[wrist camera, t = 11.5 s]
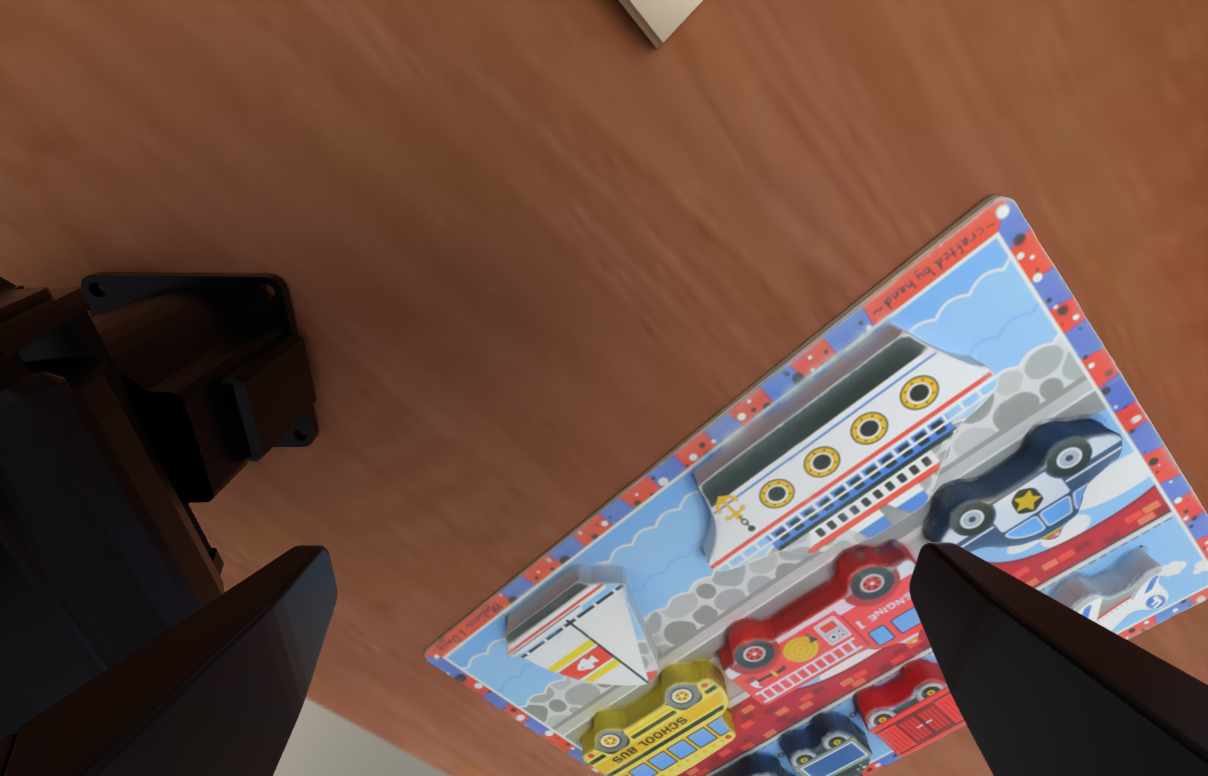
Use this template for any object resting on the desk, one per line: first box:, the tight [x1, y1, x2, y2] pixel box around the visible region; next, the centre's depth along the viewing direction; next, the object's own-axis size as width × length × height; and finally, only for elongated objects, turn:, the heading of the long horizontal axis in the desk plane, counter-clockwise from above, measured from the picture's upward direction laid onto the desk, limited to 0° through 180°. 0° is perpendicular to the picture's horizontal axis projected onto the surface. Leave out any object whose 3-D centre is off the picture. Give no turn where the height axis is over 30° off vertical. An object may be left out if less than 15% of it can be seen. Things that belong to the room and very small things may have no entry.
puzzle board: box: [424, 195, 1208, 776], centre depth 26 cm, size 30×23×3 cm
